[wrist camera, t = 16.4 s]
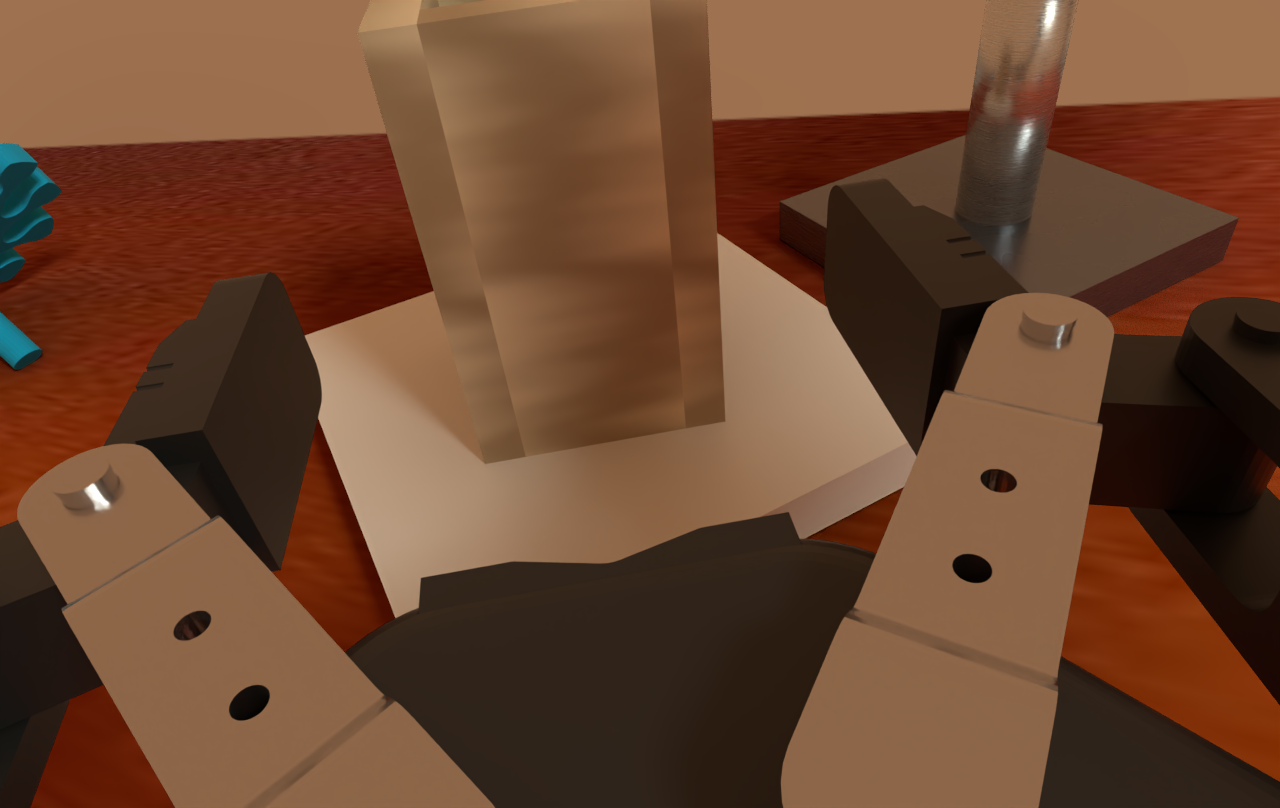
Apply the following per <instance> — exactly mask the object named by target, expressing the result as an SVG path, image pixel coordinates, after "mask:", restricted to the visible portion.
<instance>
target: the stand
mask: <svg viewBox="0 0 1280 808" xmlns="http://www.w3.org/2000/svg"><path fill="white" fill-rule="evenodd" d="M1077 5H1078V0H986V7H985V13H984V20H983V26H982V34H981V39H980V47H979V53H978V59H977V66H976V72H975V80H974V85H973V92H972V99H971V105H970V112H969V118H968V125H967V131H966V135H964V136H961V137H958V138H955V139H953V140H950V141H947V142H944V143H942V144H939V145H936V146H933V147H930V148H928V149H925V150H922V151H919V152H916V153H914V154H911V155H908V156H905V157H902V158H900V159H897V160H894V161H891V162H888V163H886V164H883V165H880V166H877V167H875V168H872V169H869V170H866V171H863V172H861V173H858V174H855V175H852V176H849V177H847V178H844V179H841V180H838V181H835V182H833V183H830V184H827V185H824V186H821V187H819V188H816V189H813V190H810V191H808V192H805V193H802V194H799V195H796V196H794V197H791V198H788V199H785V200H782V201H780V240H782V241H783V242H785V243H786V244H788V245H790V246H791V247H793V248H794V249H796V250H798V251H799V252H801V253H802V254H804V255H805V256H807V257H809V258H810V259H812V260H813V261H815V262H817V263H818V264H820V265H821V266H823V267H825V249H826V229H827V209H828V199H829V194H830V191H831V189H832V187H833V186H835V185H841V184H848V183H854V182H861V181H867V180H873V179H880V178H886V179H887V180H889V181H890V182H891V183H892V185H893V186H894V187H895V188H896V189H897V190H898V191H899V192H900V193H901V194H902V195H903V196H904V197H905V198H906V199H907V200H908V201H909V202H910V203H911V204H912V205H913V206H914V207H915V206H921V205H924V206H927V207H929V208H931V209H933V210H935V211H938V212H940V213H942V214H944V215H947V216H949V217H951V218H953V219H954V220H955V221H956V222H957V223H958V224H959V225H960V226H961V227H962V228H963V229H964V230H965V231H966V232H967V233H968V234H969V235H970V236H971V240H975V241H976V242H978V243H979V244H980V245H981V246H982V247H983V248H984V249H985V250H986V251H985V253H986V255H987V254H990V255H991V256H992V257H993V258H994V259H995V260H996V261H997V262H998V263H999V264H1000V265H1001V266H1002V267H1003V268H1004V269H1005V270H1006V271H1007V272H1008V273H1009V274H1010V275H1011V276H1012V277H1013V278H1014V279H1015V280H1016V281H1017V282H1018V283H1019V284H1020V285H1021V286H1022V287H1023V288H1024V289H1025V290H1026V291H1028V292H1029V293H1048V294H1056V295H1061V296H1066V297H1070V298H1073V299H1076V300H1079V301H1082V302H1084V303H1087V304H1088V305H1090V306H1092V307H1094V308H1096V309H1097V310H1099V311H1100V312H1102V313H1103V314H1104V315H1105V316H1106V317H1108V316H1110V315H1112V314H1114V313H1116V312H1118V311H1120V310H1122V309H1124V308H1126V307H1128V306H1130V305H1132V304H1134V303H1136V302H1138V301H1140V300H1142V299H1145V298H1147V297H1149V296H1151V295H1153V294H1155V293H1157V292H1159V291H1161V290H1163V289H1165V288H1167V287H1169V286H1171V285H1173V284H1175V283H1177V282H1179V281H1181V280H1184V279H1186V278H1188V277H1190V276H1192V275H1194V274H1196V273H1198V272H1200V271H1202V270H1204V269H1206V268H1208V267H1210V266H1212V265H1214V264H1216V263H1218V262H1220V261H1222V260H1223V258H1224V255H1225V253H1226V250H1227V247H1228V245H1229V242H1230V240H1231V237H1232V235H1233V232H1234V229H1235V227H1236V224H1237V222H1238V219H1239V218H1238V217H1235V216H1233V215H1230V214H1227V213H1224V212H1222V211H1219V210H1216V209H1213V208H1210V207H1208V206H1205V205H1202V204H1199V203H1197V202H1194V201H1191V200H1188V199H1186V198H1183V197H1180V196H1177V195H1174V194H1172V193H1169V192H1166V191H1163V190H1161V189H1158V188H1155V187H1152V186H1150V185H1147V184H1144V183H1141V182H1138V181H1136V180H1133V179H1130V178H1127V177H1125V176H1122V175H1119V174H1116V173H1114V172H1111V171H1108V170H1105V169H1102V168H1100V167H1097V166H1094V165H1091V164H1089V163H1086V162H1083V161H1080V160H1078V159H1075V158H1072V157H1069V156H1066V155H1064V154H1061V153H1058V152H1055V151H1053V150H1050V149H1047V143H1048V138H1049V134H1050V129H1051V125H1052V120H1053V115H1054V111H1055V106H1056V101H1057V97H1058V92H1059V87H1060V83H1061V78H1062V74H1063V69H1064V64H1065V59H1066V55H1067V51H1068V46H1069V41H1070V37H1071V32H1072V28H1073V23H1074V18H1075V14H1076V9H1077Z"/></svg>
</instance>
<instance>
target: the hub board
mask: <svg viewBox="0 0 1280 808" xmlns="http://www.w3.org/2000/svg"><path fill="white" fill-rule="evenodd" d="M717 241H718V264H719V286H720V309H721V331H722V354H723V377H724V399H725V422H719V423H714V424H708V425H703V426H697V427H691V428H686V429H680V430H674V431H669V432H663V433H657V434H652V435H646V436H641V437H635V438H629V439H624V440H618V441H612V442H607V443H601V444H596V445H590V446H584V447H579V448H573V449H567V450H562V451H556V452H551V453H545V454H539V455H534V456H528V457H522V458H517V459H511V460H506V461H500V462H494V463H489V464H485V462H484V459H483V455H482V452H481V449H480V445H479V442H478V438H477V435H476V432H475V428H474V425H473V422H472V418H471V415H470V411H469V408H468V405H467V401H466V398H465V395H464V391H463V388H462V384H461V381H460V378H459V374H458V371H457V368H456V364H455V361H454V357H453V354H452V351H451V347H450V344H449V341H448V337H447V334H446V330H445V327H444V324H443V320H442V317H441V314H440V310H439V307H438V304H437V300H436V297H435V293H434V291H433V292H430V293H427V294H424V295H421V296H418V297H415V298H412V299H409V300H406V301H404V302H401V303H398V304H395V305H392V306H389V307H386V308H383V309H380V310H377V311H375V312H372V313H369V314H366V315H363V316H360V317H357V318H354V319H351V320H348V321H345V322H343V323H340V324H337V325H334V326H331V327H328V328H325V329H322V330H319V331H316V332H314V333H311V334H308V335H305V338H306V340H307V342H308V345H309V347H310V350H311V352H312V354H313V357H314V359H315V362H316V364H317V368H318V371H319V375H320V380H321V388H322V402H321V407H320V411H319V415H318V419H319V422H320V424H321V427H322V429H323V432H324V435H325V437H326V440H327V442H328V445H329V447H330V450H331V453H332V455H333V458H334V460H335V463H336V466H337V468H338V471H339V473H340V476H341V478H342V481H343V484H344V486H345V489H346V491H347V494H348V497H349V499H350V502H351V504H352V507H353V509H354V512H355V515H356V517H357V520H358V522H359V525H360V528H361V530H362V533H363V535H364V538H365V540H366V543H367V546H368V548H369V551H370V553H371V556H372V558H373V561H374V564H375V566H376V569H377V571H378V574H379V577H380V579H381V582H382V584H383V587H384V589H385V592H386V595H387V597H388V600H389V602H390V605H391V608H392V610H393V613H394V615H395V618H397V617H399V616H401V615H403V614H405V613H407V612H409V611H412V610H414V609H417V608H419V596H420V582H421V578H423V577H429V576H434V575H440V574H445V573H451V572H456V571H462V570H468V569H473V568H479V567H484V566H490V565H495V564H501V563H507V562H512V561H519V562H559V563H611V562H615V561H618V560H621V559H623V558H626V557H628V556H631V555H633V554H636V553H638V552H641V551H643V550H646V549H648V548H651V547H653V546H656V545H658V544H661V543H663V542H666V541H668V540H671V539H673V538H676V537H678V536H681V535H683V534H686V533H688V532H691V531H693V530H696V529H698V528H702V527H708V526H713V525H719V524H724V523H730V522H735V521H741V520H747V519H752V518H758V517H763V516H769V515H774V514H780V513H786V512H789V514H790V516H791V519H792V521H793V524H794V526H795V529H796V531H797V534H798V536H799V539H805V538H807V537H809V536H811V535H812V534H814V533H816V532H818V531H820V530H822V529H824V528H826V527H828V526H830V525H832V524H834V523H835V522H837V521H839V520H841V519H843V518H845V517H847V516H849V515H851V514H853V513H855V512H856V511H858V510H860V509H862V508H864V507H866V506H868V505H870V504H872V503H874V502H876V501H878V500H879V499H881V498H883V497H885V496H887V495H889V494H891V493H893V492H895V491H897V490H899V489H900V488H902V487H904V486H905V483H906V481H907V479H908V476H909V474H910V471H911V469H912V466H913V464H914V462H915V459H916V457H917V456H916V455H915V453H914V451H913V450H912V448H911V447H910V445H909V443H908V442H907V440H906V438H905V437H904V435H903V434H902V432H901V430H900V429H899V427H898V426H897V424H896V422H895V421H894V419H893V418H892V416H891V414H890V413H889V411H888V410H887V408H886V406H885V405H884V403H883V402H882V400H881V398H880V397H879V395H878V393H877V392H876V390H875V389H874V387H873V385H872V384H871V382H870V381H869V379H868V377H867V376H866V374H865V373H864V371H863V369H862V368H861V366H860V365H859V363H858V361H857V360H856V358H855V357H854V355H853V353H852V352H851V350H850V348H849V347H848V345H847V344H846V342H845V340H844V339H843V337H842V336H841V334H840V332H839V331H838V329H837V328H836V326H835V324H834V323H833V321H832V319H831V317H830V314H829V311H828V308H827V307H826V306H824V305H823V304H821V303H820V302H818V301H817V300H815V299H814V298H812V297H811V296H809V295H808V294H806V293H805V292H803V291H802V290H801V289H799V288H798V287H796V286H795V285H793V284H792V283H790V282H789V281H787V280H786V279H784V278H783V277H781V276H780V275H778V274H777V273H776V272H774V271H773V270H771V269H770V268H768V267H767V266H765V265H764V264H762V263H761V262H759V261H758V260H756V259H755V258H753V257H752V256H751V255H749V254H748V253H746V252H745V251H743V250H742V249H740V248H739V247H737V246H736V245H734V244H733V243H731V242H730V241H728V240H727V239H725V238H724V237H723V236H721V235H720V234H718V233H717Z"/></svg>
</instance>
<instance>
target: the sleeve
mask: <svg viewBox="0 0 1280 808" xmlns="http://www.w3.org/2000/svg"><path fill="white" fill-rule="evenodd" d="M707 16H708V15H707V0H371V1H370V3H369V6H368V8H367V11H366V13H365V15H364V18H363V20H362V23H361V25H360V27H359V30H358V37H359V40H360V44H361V47H362V51H363V54H364V57H365V61H366V64H367V67H368V71H369V74H370V78H371V81H372V84H373V88H374V91H375V94H376V97H377V101H378V105H379V108H380V111H381V114H382V118H383V121H384V125H385V128H386V132H387V135H388V138H389V142H390V145H391V148H392V152H393V155H394V158H395V162H396V165H397V169H398V172H399V175H400V179H401V182H402V185H403V189H404V192H405V196H406V199H407V202H408V206H409V209H410V212H411V216H412V219H413V223H414V226H415V229H416V233H417V236H418V239H419V243H420V246H421V250H422V253H423V256H424V260H425V263H426V266H427V270H428V273H429V277H430V280H431V283H432V287H433V290H434V293H435V297H436V300H437V304H438V307H439V310H440V314H441V317H442V320H443V324H444V327H445V330H446V334H447V337H448V341H449V344H450V347H451V351H452V354H453V357H454V361H455V364H456V368H457V371H458V374H459V378H460V381H461V384H462V388H463V391H464V395H465V398H466V401H467V405H468V408H469V411H470V415H471V418H472V422H473V425H474V428H475V432H476V435H477V438H478V442H479V445H480V449H481V452H482V455H483V459H484V462H485V464H489V463H494V462H500V461H506V460H511V459H517V458H522V457H528V456H534V455H539V454H545V453H551V452H556V451H562V450H567V449H573V448H579V447H584V446H590V445H596V444H601V443H607V442H612V441H618V440H624V439H629V438H635V437H641V436H646V435H652V434H657V433H663V432H669V431H674V430H680V429H686V428H691V427H697V426H703V425H708V424H714V423H719V422H725V399H724V377H723V354H722V331H721V309H720V286H719V264H718V241H717V218H716V196H715V173H714V151H713V128H712V107H711V84H710V64H709V63H710V61H709V39H708V17H707Z"/></svg>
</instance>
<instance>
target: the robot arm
mask: <svg viewBox="0 0 1280 808" xmlns="http://www.w3.org/2000/svg"><path fill="white" fill-rule="evenodd" d="M985 251H986V250H985V249H984V248H983V247H982V246H981V245H980V244H979V243H978V242H976V241H975V240H971V236H970V235H969V234H968V233H967V232H966V231H965V230H964V229H963V228H962V227H961V226H960V225H959V224H958V223H957V222H956V221H955V220H954V219H953V218H951V217H949V216H947V215H944V214H942V213H940V212H938V211H935V210H933V209H931V208H929V207H927V206H924V205H921V206H915V207H914V206H913V205H912V204H911V203H910V202H909V201H908V200H907V199H906V198H905V197H904V196H903V195H902V194H901V193H900V192H899V191H898V190H897V189H896V188H895V187H894V186H893V185H892V183H891V182H890V181H889V180H887V179H886V178H880V179H873V180H867V181H861V182H854V183H848V184H841V185H835V186H833V187H832V189H831V191H830V194H829V199H828V209H827V229H826V249H825V269H824V291H825V299H826V304H827V308H828V311H829V314H830V317H831V319H832V321H833V323H834V324H835V326H836V328H837V329H838V331H839V332H840V334H841V336H842V337H843V339H844V340H845V342H846V344H847V345H848V347H849V348H850V350H851V352H852V353H853V355H854V357H855V358H856V360H857V361H858V363H859V365H860V366H861V368H862V369H863V371H864V373H865V374H866V376H867V377H868V379H869V381H870V382H871V384H872V385H873V387H874V389H875V390H876V392H877V393H878V395H879V397H880V398H881V400H882V402H883V403H884V405H885V406H886V408H887V410H888V411H889V413H890V414H891V416H892V418H893V419H894V421H895V422H896V424H897V426H898V427H899V429H900V430H901V432H902V434H903V435H904V437H905V438H906V440H907V442H908V443H909V445H910V447H911V448H912V450H913V451H914V453H915V455H916V456H917V457H916V459H915V462H914V464H913V466H912V469H911V471H910V474H909V476H908V479H907V481H906V483H905V486H904V488H903V491H902V493H901V496H900V498H899V500H898V503H897V505H896V508H895V510H894V513H893V515H892V517H891V520H890V522H889V525H888V527H887V530H886V532H885V534H884V537H883V539H882V542H881V544H880V547H879V549H878V551H877V554H876V553H873V552H870V551H867V550H864V549H861V548H858V547H855V546H850V545H846V544H841V543H837V542H831V541H824V540H816V539H799V536H798V534H797V531H796V529H795V526H794V524H793V521H792V519H791V516H790V514H789V512H786V513H780V514H774V515H769V516H763V517H758V518H752V519H747V520H741V521H735V522H730V523H724V524H719V525H713V526H708V527H702V528H698V529H696V530H693V531H691V532H688V533H686V534H683V535H681V536H678V537H676V538H673V539H671V540H668V541H666V542H663V543H661V544H658V545H656V546H653V547H651V548H648V549H646V550H643V551H641V552H638V553H636V554H633V555H631V556H628V557H626V558H623V559H621V560H618V561H615V562H611V563H559V562H519V561H512V562H507V563H501V564H495V565H490V566H484V567H479V568H473V569H468V570H462V571H456V572H451V573H445V574H440V575H434V576H429V577H423V578H421V582H420V596H419V608H417V609H414V610H412V611H409V612H407V613H405V614H403V615H401V616H399V617H397V618H395V619H393V620H391V621H389V622H387V623H385V624H384V625H382V626H381V627H379V628H377V629H376V630H374V631H373V632H371V633H370V634H368V635H366V636H365V637H364V638H362V639H361V640H360V641H359V642H357V643H356V644H355V645H353V646H352V647H351V648H349V649H348V650H347V651H346V652H345V653H344V651H343V650H342V649H341V648H340V647H339V646H338V645H337V644H336V643H335V641H334V640H333V639H332V638H331V637H330V636H329V635H328V634H327V633H326V632H325V630H324V629H323V628H322V627H321V626H320V625H319V624H318V623H317V622H316V621H315V619H314V618H313V617H312V616H311V615H310V614H309V613H308V612H307V611H306V610H305V608H304V607H303V606H302V605H301V604H300V603H299V602H298V601H297V600H296V599H295V597H294V596H293V595H292V594H291V593H290V592H289V591H288V590H287V589H286V587H285V586H284V585H283V584H282V583H281V582H280V581H279V580H278V579H277V578H276V576H275V575H274V574H273V573H272V572H271V571H277V570H281V566H282V561H283V557H284V553H285V549H286V545H287V541H288V537H289V533H290V529H291V525H292V521H293V517H294V513H295V509H296V505H297V501H298V496H299V492H300V488H301V484H302V480H303V476H304V472H305V468H306V464H307V460H308V456H309V452H310V448H311V444H312V440H313V435H314V431H315V427H316V423H317V419H318V415H319V411H320V407H321V402H322V388H321V380H320V375H319V371H318V368H317V364H316V362H315V359H314V357H313V354H312V352H311V350H310V347H309V345H308V342H307V340H306V338H305V335H304V333H303V331H302V328H301V326H300V323H299V321H298V319H297V316H296V314H295V311H294V309H293V307H292V304H291V302H290V299H289V297H288V295H287V292H286V290H285V288H284V286H283V284H282V282H281V280H280V279H279V278H278V277H277V275H275V274H274V273H271V272H270V273H264V274H257V275H251V276H244V277H238V278H232V279H225V280H219V281H216V282H215V283H214V285H213V287H212V289H211V291H210V293H209V295H208V297H207V299H206V301H205V303H204V305H203V306H202V308H201V310H200V312H199V314H198V316H197V318H196V319H194V320H187V321H185V322H184V323H183V324H182V325H180V326H179V327H178V328H177V329H176V330H175V331H173V332H172V333H171V334H170V335H169V336H168V337H167V338H165V339H164V340H163V341H162V342H161V343H160V344H159V345H158V347H157V349H156V351H155V353H154V355H153V356H152V358H151V360H150V362H149V364H148V365H147V367H146V368H147V372H144V373H143V375H142V376H141V378H140V380H139V382H138V384H137V386H136V389H137V391H136V392H133V393H132V395H131V397H130V398H129V400H128V402H127V404H126V406H125V408H124V409H123V411H122V413H121V415H120V417H119V419H118V420H117V422H116V424H115V426H114V428H113V430H112V431H111V433H110V435H109V437H108V439H107V441H106V442H105V444H104V446H102V447H99V448H95V449H92V450H89V451H86V452H83V453H81V454H78V455H76V456H74V457H72V458H70V459H68V460H66V461H64V462H62V463H61V464H59V465H57V466H56V467H54V468H53V469H51V470H50V471H48V472H47V473H45V474H44V475H43V476H42V477H40V478H39V479H38V480H37V481H36V482H35V483H34V484H33V485H32V486H31V487H30V488H29V489H28V491H27V492H26V493H25V494H24V496H23V498H22V499H21V501H20V503H19V506H18V510H17V518H18V520H17V521H15V522H13V523H10V524H7V525H4V526H2V527H0V808H30V806H31V804H32V801H33V798H34V795H35V793H36V790H37V787H38V785H39V782H40V779H41V776H42V774H43V771H44V768H45V766H46V763H47V760H48V757H49V755H50V752H51V749H52V747H53V744H54V741H55V739H56V736H57V733H58V730H59V728H60V725H61V722H62V720H63V717H64V714H65V711H66V709H67V706H68V703H69V699H71V698H74V697H76V696H78V695H81V694H83V693H85V692H87V691H90V690H92V689H94V688H97V687H99V686H101V685H103V684H104V686H105V687H106V689H107V691H108V693H109V694H110V696H111V698H112V699H113V701H114V703H115V705H116V706H117V708H118V710H119V711H120V713H121V715H122V717H123V718H124V720H125V722H126V724H127V725H128V727H129V729H130V730H131V732H132V734H133V736H134V737H135V739H136V741H137V742H138V744H139V746H140V748H141V749H142V751H143V753H144V755H145V756H146V758H147V760H148V761H149V763H150V765H151V767H152V768H153V770H154V772H155V773H156V775H157V777H158V779H159V780H160V782H161V784H162V786H163V787H164V789H165V791H166V792H167V794H168V796H169V798H170V799H171V801H172V803H173V805H174V806H175V808H1280V782H1279V781H1277V780H1275V779H1274V778H1272V777H1270V776H1268V775H1267V774H1265V773H1263V772H1261V771H1260V770H1258V769H1256V768H1254V767H1253V766H1251V765H1249V764H1247V763H1246V762H1244V761H1242V760H1241V759H1239V758H1237V757H1235V756H1234V755H1232V754H1230V753H1228V752H1227V751H1225V750H1223V749H1221V748H1220V747H1218V746H1216V745H1214V744H1213V743H1211V742H1209V741H1207V740H1206V739H1204V738H1202V737H1200V736H1199V735H1197V734H1195V733H1194V732H1192V731H1190V730H1188V729H1187V728H1185V727H1183V726H1181V725H1180V724H1178V723H1176V722H1174V721H1173V720H1171V719H1169V718H1167V717H1166V716H1164V715H1162V714H1160V713H1159V712H1157V711H1155V710H1153V709H1152V708H1150V707H1148V706H1147V705H1145V704H1143V703H1141V702H1140V701H1138V700H1136V699H1134V698H1133V697H1131V696H1129V695H1127V694H1126V693H1124V692H1122V691H1120V690H1119V689H1117V688H1115V687H1114V686H1112V685H1110V684H1108V683H1107V682H1105V681H1103V680H1101V679H1100V678H1098V677H1096V676H1094V675H1093V674H1091V673H1089V672H1087V671H1086V670H1084V669H1082V668H1080V667H1079V666H1077V665H1075V664H1074V663H1072V662H1070V661H1068V660H1067V659H1065V658H1063V657H1061V651H1062V646H1063V641H1064V635H1065V630H1066V624H1067V619H1068V613H1069V608H1070V603H1071V597H1072V592H1073V586H1074V581H1075V576H1076V570H1077V565H1078V559H1079V554H1080V548H1081V543H1082V538H1083V532H1084V527H1085V521H1086V516H1087V511H1088V505H1089V504H1092V505H1107V506H1121V507H1129V509H1130V510H1131V512H1132V513H1133V515H1134V516H1135V517H1136V519H1137V520H1138V521H1139V522H1140V524H1141V525H1142V526H1143V528H1144V529H1145V530H1146V532H1147V533H1148V534H1149V535H1150V537H1151V538H1152V539H1153V541H1154V542H1155V543H1156V545H1157V546H1158V547H1159V548H1160V550H1161V551H1162V552H1163V554H1164V555H1165V556H1166V558H1167V559H1168V560H1169V562H1170V563H1171V564H1172V565H1173V567H1174V568H1175V569H1176V571H1177V572H1178V573H1179V575H1180V576H1181V577H1182V578H1183V580H1184V581H1185V582H1186V584H1187V585H1188V586H1189V588H1190V589H1191V590H1192V591H1193V593H1194V594H1195V595H1196V597H1197V598H1198V599H1199V601H1200V602H1201V603H1202V605H1203V606H1204V607H1205V608H1206V610H1207V611H1208V612H1209V614H1210V615H1211V616H1212V618H1213V619H1214V620H1215V621H1216V623H1217V624H1218V625H1219V627H1220V628H1221V629H1222V631H1223V632H1224V633H1225V635H1226V636H1227V637H1228V638H1229V640H1230V641H1231V642H1232V644H1233V645H1234V646H1235V648H1236V649H1237V650H1238V651H1239V653H1240V654H1241V655H1242V657H1243V658H1244V659H1245V661H1246V662H1247V663H1248V664H1249V666H1250V667H1251V668H1252V670H1253V671H1254V672H1255V674H1256V675H1257V676H1258V678H1259V679H1260V680H1261V681H1262V683H1263V684H1264V685H1265V687H1266V688H1267V689H1268V691H1269V692H1270V693H1271V694H1272V696H1273V697H1274V698H1275V700H1276V701H1277V702H1278V704H1279V705H1280V500H1279V499H1278V498H1277V497H1276V496H1275V495H1274V494H1273V493H1272V492H1271V491H1270V490H1269V489H1268V488H1267V487H1266V486H1267V484H1268V482H1269V481H1270V479H1271V477H1272V475H1273V473H1274V471H1275V469H1276V467H1277V466H1278V467H1279V468H1280V303H1278V302H1274V301H1270V300H1264V299H1258V298H1248V297H1227V298H1219V299H1214V300H1210V301H1207V302H1204V303H1202V304H1200V305H1198V306H1197V307H1196V308H1195V309H1194V310H1193V311H1192V313H1191V315H1190V317H1189V320H1188V322H1187V325H1186V328H1185V330H1184V333H1183V336H1150V335H1122V334H1114V329H1113V326H1112V324H1111V322H1110V321H1109V319H1108V318H1107V317H1106V316H1105V315H1104V314H1103V313H1102V312H1100V311H1099V310H1097V309H1096V308H1094V307H1092V306H1090V305H1088V304H1087V303H1084V302H1082V301H1079V300H1076V299H1073V298H1070V297H1066V296H1061V295H1056V294H1048V293H1029V292H1028V291H1026V290H1025V289H1024V288H1023V287H1022V286H1021V285H1020V284H1019V283H1018V282H1017V281H1016V280H1015V279H1014V278H1013V277H1012V276H1011V275H1010V274H1009V273H1008V272H1007V271H1006V270H1005V269H1004V268H1003V267H1002V266H1001V265H1000V264H999V263H998V262H997V261H996V260H995V259H994V258H993V257H992V256H991V255H990V254H987V255H986V253H985Z"/></svg>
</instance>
